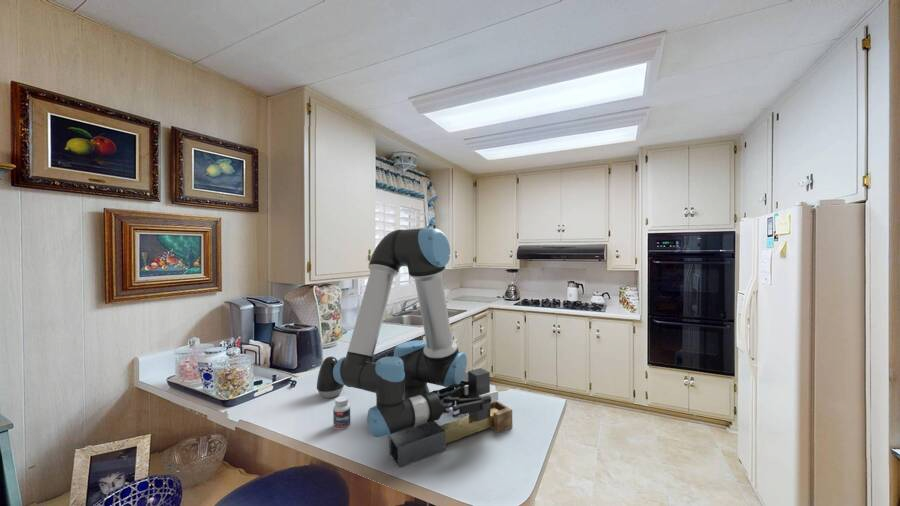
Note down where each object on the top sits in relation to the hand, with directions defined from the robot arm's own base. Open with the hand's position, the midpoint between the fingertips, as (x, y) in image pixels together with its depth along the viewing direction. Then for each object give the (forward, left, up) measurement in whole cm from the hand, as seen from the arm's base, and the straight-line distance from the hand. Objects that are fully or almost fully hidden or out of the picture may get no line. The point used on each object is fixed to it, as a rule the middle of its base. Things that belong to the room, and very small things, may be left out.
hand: (489, 390), depth 106 cm
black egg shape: (-37, -53, -12) cm, 66 cm away
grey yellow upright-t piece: (+2, -8, -11) cm, 14 cm away
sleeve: (+8, -24, -12) cm, 28 cm away
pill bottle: (-12, -46, -12) cm, 49 cm away
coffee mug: (-19, -2, -12) cm, 22 cm away
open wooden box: (-2, +3, -12) cm, 12 cm away
